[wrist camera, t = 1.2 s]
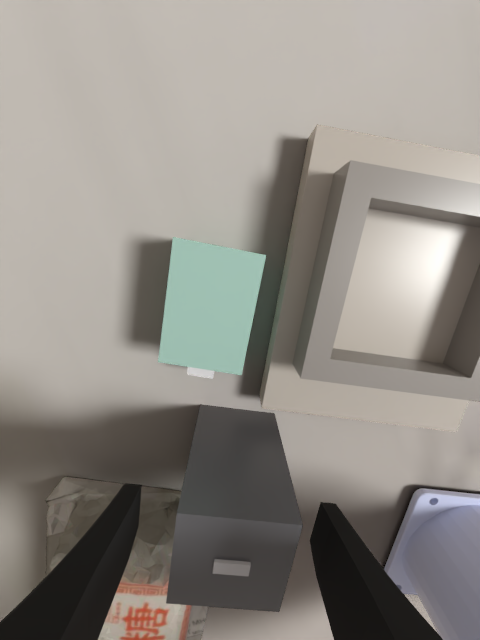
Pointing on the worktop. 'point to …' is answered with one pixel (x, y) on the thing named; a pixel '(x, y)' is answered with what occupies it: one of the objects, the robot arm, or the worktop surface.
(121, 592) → the packaged product
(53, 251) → the worktop surface
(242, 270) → the cable plug
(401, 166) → the plate
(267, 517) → the block
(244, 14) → the worktop surface
